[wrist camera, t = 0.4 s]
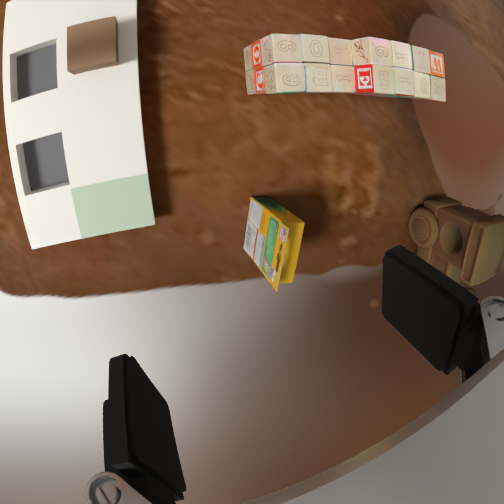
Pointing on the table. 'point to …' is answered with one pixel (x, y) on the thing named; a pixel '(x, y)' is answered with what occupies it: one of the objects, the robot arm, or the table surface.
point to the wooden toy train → (458, 240)
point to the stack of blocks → (343, 67)
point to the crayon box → (273, 239)
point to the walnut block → (92, 45)
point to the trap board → (73, 124)
